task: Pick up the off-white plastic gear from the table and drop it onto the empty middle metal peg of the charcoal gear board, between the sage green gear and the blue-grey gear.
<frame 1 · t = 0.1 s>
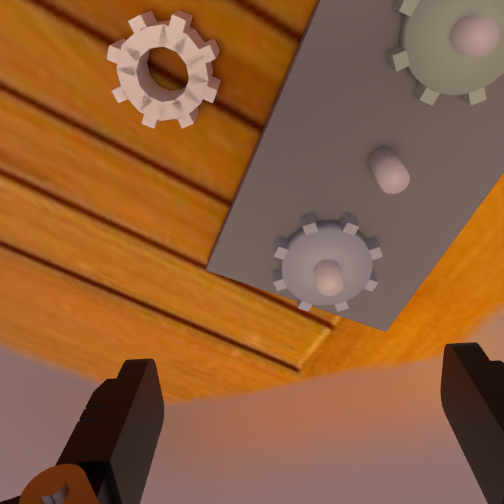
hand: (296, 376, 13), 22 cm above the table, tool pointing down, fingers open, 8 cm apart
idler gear: (171, 65, 30), on the table
gear board: (377, 152, 32), on the table
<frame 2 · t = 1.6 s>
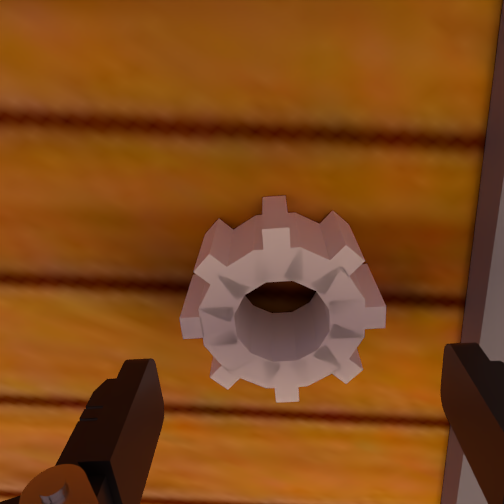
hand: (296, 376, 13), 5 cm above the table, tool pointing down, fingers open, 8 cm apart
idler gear: (279, 278, 17), on the table
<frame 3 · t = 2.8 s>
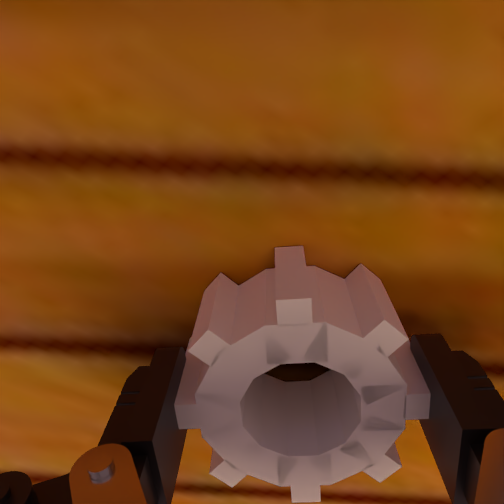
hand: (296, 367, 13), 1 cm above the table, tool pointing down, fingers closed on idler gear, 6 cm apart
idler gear: (294, 342, 14), on the table, touching gripper
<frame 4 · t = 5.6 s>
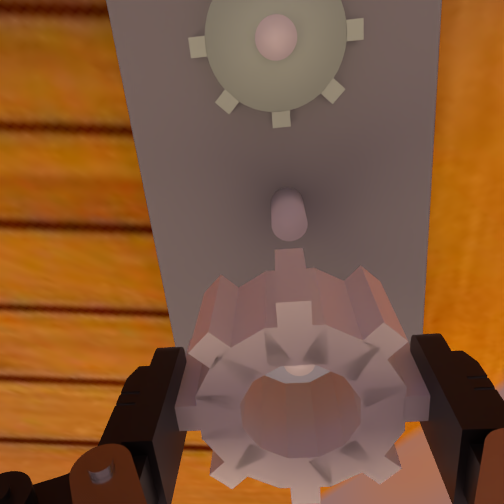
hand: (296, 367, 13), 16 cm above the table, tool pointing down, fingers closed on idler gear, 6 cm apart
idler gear: (294, 344, 14), point 15 cm above the table, touching gripper
gear board: (286, 195, 28), on the table
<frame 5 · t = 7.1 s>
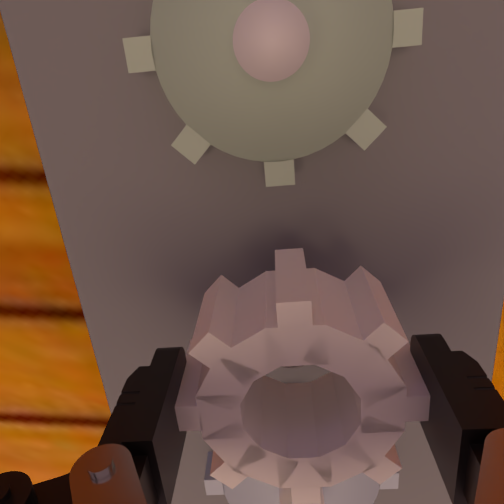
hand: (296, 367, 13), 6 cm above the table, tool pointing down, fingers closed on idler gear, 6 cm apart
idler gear: (295, 344, 14), point 5 cm above the table, touching gripper
gear board: (285, 271, 19), on the table
when the fingers open (4 cm above the table, at t = 8.5 s): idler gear drops 1 cm, resting on gear board.
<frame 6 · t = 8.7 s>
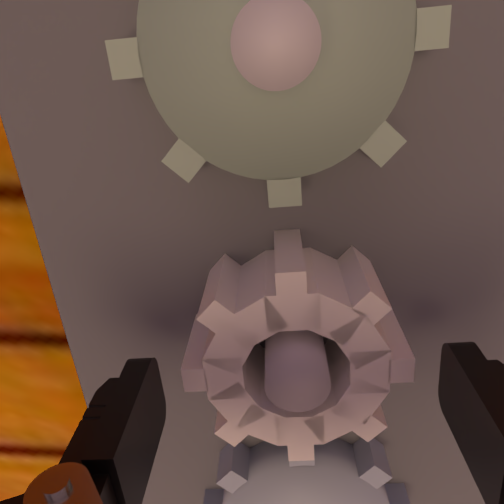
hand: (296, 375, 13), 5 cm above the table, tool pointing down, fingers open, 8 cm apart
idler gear: (292, 318, 16), point 1 cm above the table, touching gear board
gear board: (290, 296, 17), on the table
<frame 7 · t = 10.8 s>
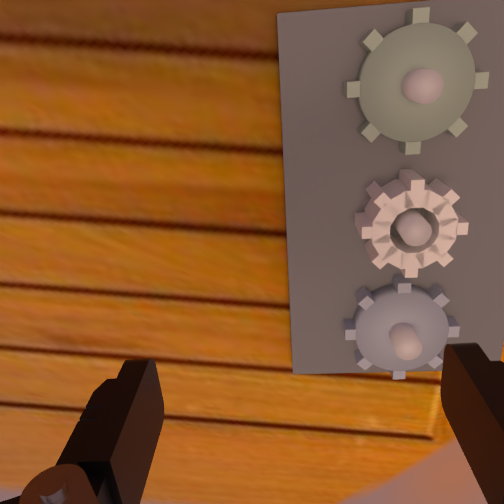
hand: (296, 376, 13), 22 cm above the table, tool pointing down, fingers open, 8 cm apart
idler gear: (402, 216, 32), point 1 cm above the table, touching gear board
gear board: (397, 208, 33), on the table
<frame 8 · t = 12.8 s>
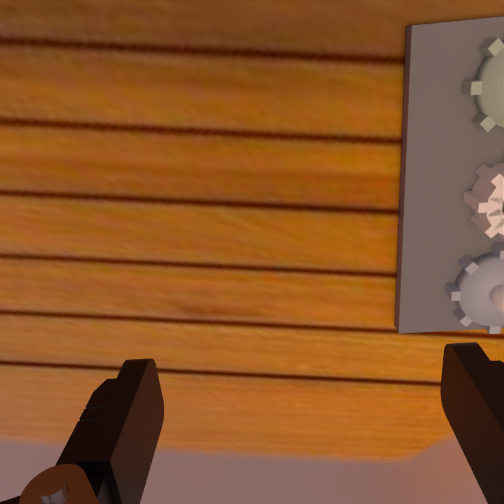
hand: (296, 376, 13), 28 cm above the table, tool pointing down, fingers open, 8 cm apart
gear board: (496, 187, 39), on the table
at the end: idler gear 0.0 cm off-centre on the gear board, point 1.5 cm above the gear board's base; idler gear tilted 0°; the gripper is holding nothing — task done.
